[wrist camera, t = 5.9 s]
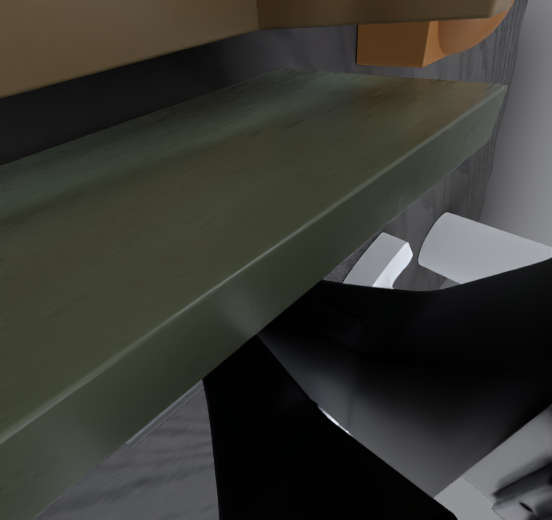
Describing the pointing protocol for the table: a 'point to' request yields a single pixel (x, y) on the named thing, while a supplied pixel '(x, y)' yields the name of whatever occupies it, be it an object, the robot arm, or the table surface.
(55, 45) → the drawer
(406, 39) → the bread loaf
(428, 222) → the table surface
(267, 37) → the table surface
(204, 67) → the table surface
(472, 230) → the cylindrical container
